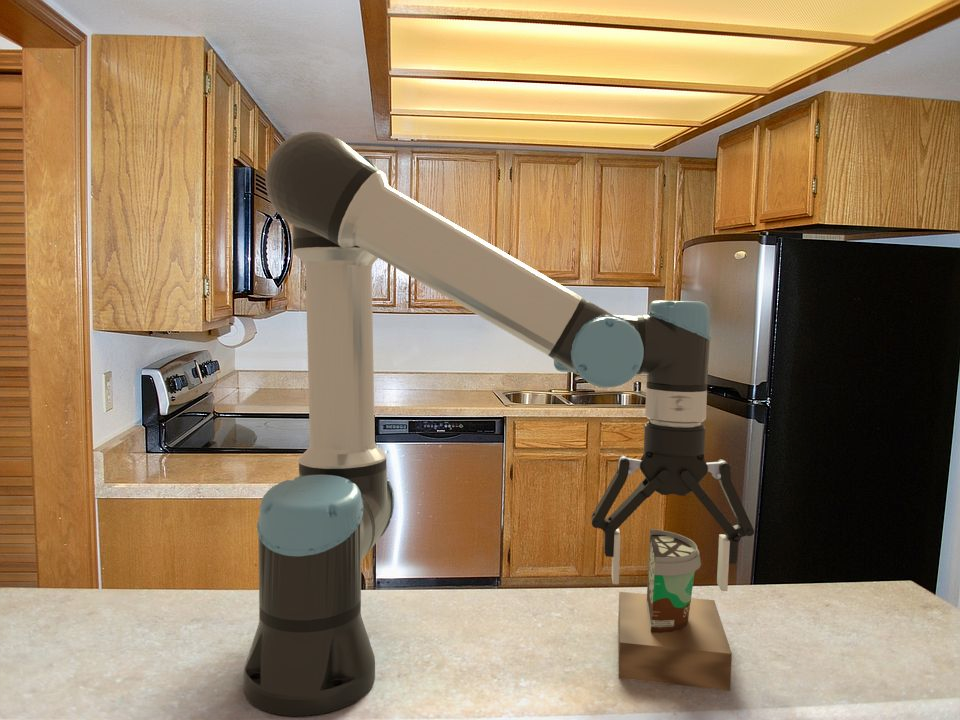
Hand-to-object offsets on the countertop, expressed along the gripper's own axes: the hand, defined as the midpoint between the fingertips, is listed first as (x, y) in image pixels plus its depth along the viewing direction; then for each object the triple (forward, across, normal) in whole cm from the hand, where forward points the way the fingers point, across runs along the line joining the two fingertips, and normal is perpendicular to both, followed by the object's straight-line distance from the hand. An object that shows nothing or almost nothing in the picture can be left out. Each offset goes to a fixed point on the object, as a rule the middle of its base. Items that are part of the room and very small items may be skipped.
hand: (668, 584), depth 95 cm
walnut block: (+10, 0, 0) cm, 10 cm away
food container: (+5, +1, 0) cm, 5 cm away
